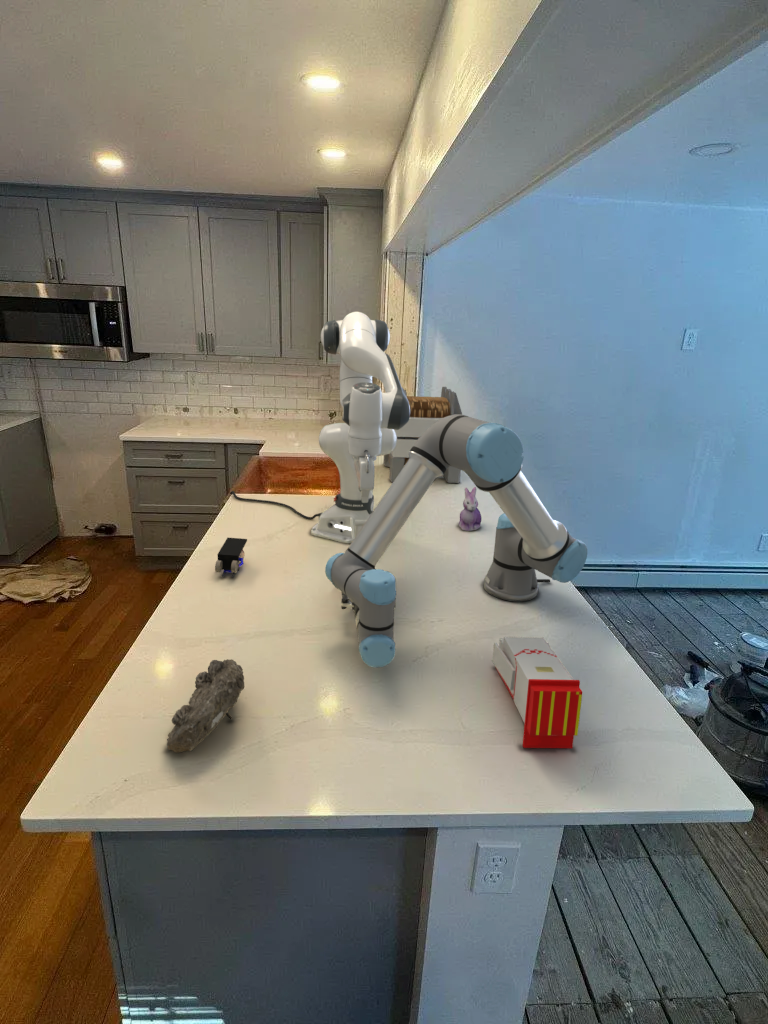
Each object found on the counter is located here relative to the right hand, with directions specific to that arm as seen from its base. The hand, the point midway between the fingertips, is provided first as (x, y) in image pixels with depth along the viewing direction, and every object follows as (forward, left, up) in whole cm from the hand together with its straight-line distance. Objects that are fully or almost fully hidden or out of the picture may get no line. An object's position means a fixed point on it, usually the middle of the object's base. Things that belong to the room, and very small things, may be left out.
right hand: (363, 573), depth 154 cm
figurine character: (+37, -18, -7) cm, 42 cm away
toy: (-30, +46, -7) cm, 56 cm away
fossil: (+32, +47, -7) cm, 57 cm away
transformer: (-38, -123, -7) cm, 129 cm away
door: (0, -3, +4) cm, 5 cm away
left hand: (0, -8, +20) cm, 21 cm away
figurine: (-44, -51, -7) cm, 68 cm away
